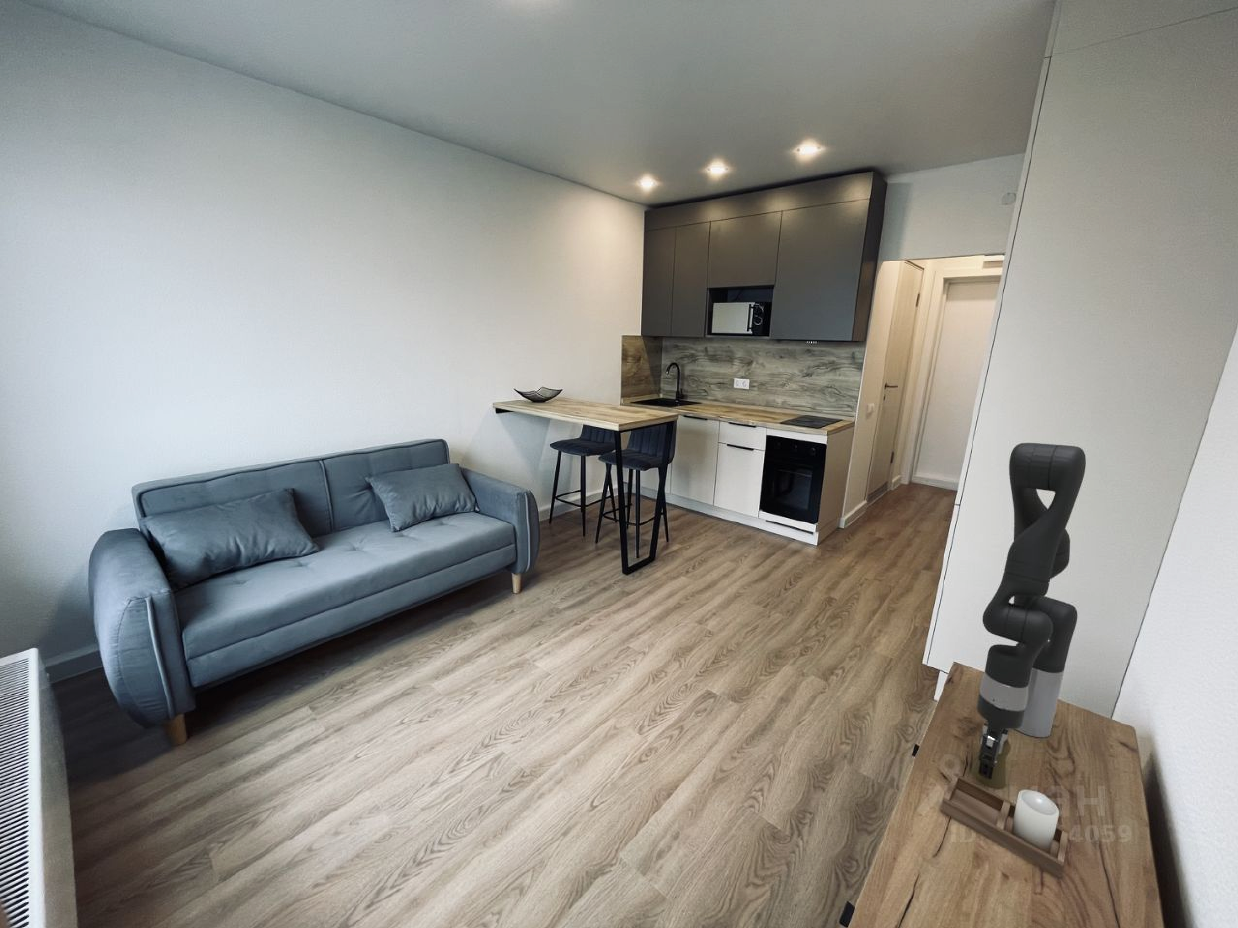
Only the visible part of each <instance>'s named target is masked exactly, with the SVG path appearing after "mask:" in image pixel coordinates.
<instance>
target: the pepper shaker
mask: <svg viewBox="0 0 1238 928" xmlns="http://www.w3.org/2000/svg"><path fill="white" fill-rule="evenodd" d="M982 735H983V731H981V733H980V735H979V744H980V743H981V739H982ZM999 745H1000V744H999ZM999 745H998V748H999ZM1011 746H1012V745H1011V743H1010V741H1009V739H1008V738H1007V739H1006V741H1004V744H1003V748H1002V752H1001V754H998V755H997V759H996V761H997V762H996V764H995V766H994V770H993V775H992V778H991V779H988V778H986V777H984V776H982V775H980V774H979V772H978V771H979V766H980V761H979V758H978V756H979V755H980V749H981V747H980V748H979V749H978V752H977V756H976V758H975V759H974V763H973V766H972V769H971V775H973V777H974V778H975V780H976V781H977V782H979V783H980V784H981V785H983V786H985V787H988V788H990V789H995V790H1002V789H1005V787H1007V786H1006V785H1007V784H1006V781H1007V780H1006V779H1007V775H1006V773H1007V772H1006V771H1007V770H1006V769H1007V767H1006V765H1007V763H1006V762H1007V760H1006V759H1007V757H1006V756H1008V755H1009V754H1010V753H1011V748H1012V747H1011ZM985 754H986V755H988V756H990V757H992V756H991V755H989V754H987V753H985Z"/></svg>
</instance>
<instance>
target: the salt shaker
mask: <svg viewBox="0 0 1238 928" xmlns="http://www.w3.org/2000/svg"><path fill="white" fill-rule="evenodd" d="M1017 795H1018V796H1017V801H1016V803H1015V804H1016V809H1015V814H1014V819H1013V824H1012V828H1011V834H1012V835H1014V836H1016V837H1018V838H1019V839H1021V840H1023V841H1025V842H1027V843H1029V844H1030V845H1032V846H1034V847H1036V848H1038V849H1040V850H1042V851H1043V852H1045V853H1047V854H1049V855H1050V851H1051V847H1052V843H1053V838H1054V834H1055V829H1056V825H1058V820H1059V816H1060V810H1059V808H1058V806H1057V805H1056V804H1055V803H1054V802H1053V801H1052V800H1051V799H1050V798H1049V797H1047V796H1046V795H1045V794H1044V793H1042V792H1039V791H1035V790H1030V789H1021V790H1020V791H1019V792H1018V794H1017Z"/></svg>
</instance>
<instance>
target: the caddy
mask: <svg viewBox="0 0 1238 928" xmlns="http://www.w3.org/2000/svg"><path fill="white" fill-rule="evenodd" d="M1016 804H1017V803H1014V802H1012V801H1011V800H1008V799H1007V798H1004V797H1002V796H1001V795H998V794H997V793H995V792H992V791H991V790H990V789H988V788H985V787H983V786H981V785H979V784H977V783H975V782H973V781H971V780H970V779H967V778H965V777H963V776H961V775H959V774H957V773H953V776H952V778H951V780H950V783H949V784H948V787H947V790H946V792H945V794H944V796H943V798H942V803H941V809H940V813H943V814H945V815H946V816H948V817H950V818H952V819H953V820H955V821H956V822H959V823H961V824H962V825H964V826H966V827H967V828H969V829H971V830H973V831H975V832H977V833H979V834H980V835H981V836H984V837H985V838H987V839H989V840H991V841H992V842H994V843H996V844H998V846H999V845H1000V846H1001V847H1003V848H1004V849H1007V850H1008V851H1010V852H1012V853H1013V854H1015V855H1017V856H1019V857H1021V858H1022V859H1025V860H1026V861H1028V862H1029V863H1031V864H1033V865H1034V866H1036V867H1039V868H1040V869H1042V870H1043V871H1046V872H1048V874H1050V875H1052V876H1054V877H1057V878H1058V879H1060V880H1061V878H1062V873H1063V869H1064V866H1065V865H1064V863H1065V858H1066V857H1065V856H1066V852H1067V851H1066V850H1067V844H1068V837H1069V830H1068V829H1065V828H1064V827H1061V825H1060V826H1059V825H1058V824H1057V825H1056V829H1055V834H1054V838H1053V843H1052V847H1051V851H1050V855H1049V854H1047V853H1045V852H1043V851H1042V850H1040V849H1038V848H1036V847H1034V846H1032V845H1030V844H1029V843H1027V842H1025V841H1023V840H1021V839H1019V838H1018V837H1016V836H1014V835H1012V834H1011V828H1012V824H1013V819H1014V814H1015V809H1016Z"/></svg>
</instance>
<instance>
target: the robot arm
mask: <svg viewBox="0 0 1238 928" xmlns="http://www.w3.org/2000/svg"><path fill="white" fill-rule="evenodd" d="M1010 453H1011V454H1010V457H1009V462H1008V475H1009V482H1010V483H1009V484H1010V490H1011V497H1012V505H1013V523H1014V524H1013V525H1014V526H1013V542H1012V544H1011V545H1010V547H1009V549H1008V553H1007V556H1006V561H1005V565H1004V568H1003V569H1004V570H1003V574H1002V579H1001V581H1000V584H999V586H998V587H997V589H996V592H995V594H994V595H993V597H992V599H991V600H990V602H989V603H988V605H987V606H986V607H985V610H984V611H983V613H982V623H983V624H982V625H983V627H984V629H985V630H986V631H987V632H988V633H990V634H992V635H994V636H997V637H1000V638H1004V639H1007V640H1010V641H1013V642H1015V643H1016V644H1015V645H1010V644H999V643H998V644H997V643H996V644H993V645H991V646H990V647H989V648H988V651H987V656H986V661H985V668H984V672H983V675H982V677H981V680H980V681H981V682H980V686H979V691H978V697H977V702H976V710H977V713H978V714H979V715H980V716H981V717H982V718H983V719H984V720H985V722H983V725H982V732H983V735H982V739H981V743H980V742H979V744H980V748H981V749H980V748H979V750H980V755H979V756H978V758H979V761H980V766H979V771H978V772H979V774H980V775H982V776H984V777H986V778H988V779H991V778H992V775H993V770H994V766H995V764H996V762H997V761H996V759H997V755H998V754H1001V752H1002V748H1003V744H1004V741H1006V739H1008V736H1009V733H1010V730H1016V731H1018V732H1020V733H1022V734H1024V735H1028V736H1031V737H1036V738H1047V737H1049V736H1050V735H1051V732H1052V727H1053V724H1054V719H1055V715H1056V709H1057V705H1058V701H1059V696H1060V691H1061V686H1062V682H1063V678H1064V677H1063V676H1064V674H1065V673H1064V672H1065V668H1066V663H1067V659H1068V655H1069V650H1070V646H1071V642H1072V639H1073V637H1074V633H1075V629H1076V626H1077V623H1078V611H1077V609H1076V606H1074V605H1072V604H1070V603H1067V602H1065V601H1062V600H1058V599H1055V598H1051V597H1049V596H1046V595H1047V594H1048V592H1049V586H1050V582H1051V580H1052V579H1053V578H1055V577H1056V576H1058V575H1059V574H1061V573H1062V572H1063V571H1065V570H1066V568H1067V567H1068V565H1069V563H1070V557H1071V555H1070V552H1071V538H1070V535H1069V533H1068V530H1067V529H1066V527H1067V526H1068V525H1067V524H1068V523H1069V520H1070V517H1071V515H1072V512H1073V509H1074V506H1075V504H1076V501H1077V498H1078V496H1079V492H1080V490H1081V486H1082V483H1083V481H1084V477H1085V474H1086V467H1087V466H1086V465H1087V463H1086V462H1087V459H1086V458H1087V457H1086V454H1085V451H1084V450H1083V448H1082V447H1079V446H1075V445H1063V444H1053V443H1051V444H1049V443H1038V442H1037V443H1036V442H1021V443H1018V444H1017V445H1015V446H1014V448H1013V449H1012V450H1011V452H1010ZM1039 490H1041V491H1046V492H1054V496H1053V498H1052V500H1051V503H1050V504H1049V506H1048V508H1047V506H1046V504H1044V502H1043V501H1042V499H1041V497H1040V496H1039V493H1038V491H1039ZM1012 598H1013V602H1010V601H1011V599H1012ZM999 744H1000V745H999ZM998 745H999V748H998ZM985 753H987V754H989V755H991V756H992V757H990V756H988V755H986V754H985Z"/></svg>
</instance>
